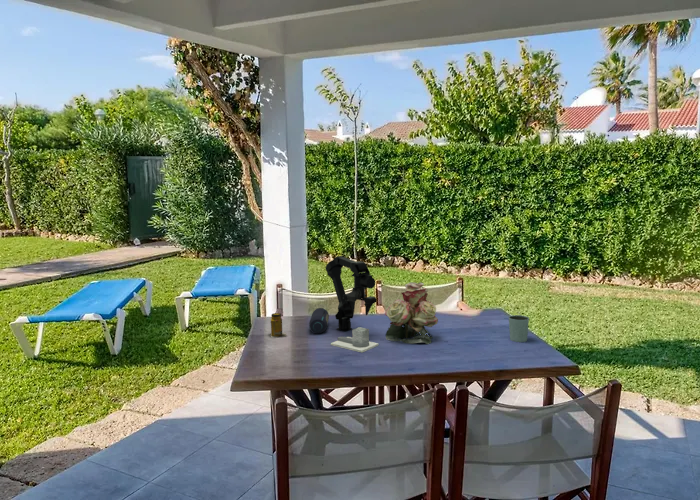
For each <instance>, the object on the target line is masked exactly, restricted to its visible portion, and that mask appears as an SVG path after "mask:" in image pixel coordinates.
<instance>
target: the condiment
mask: <svg viewBox="0 0 700 500" xmlns="http://www.w3.org/2000/svg"><path fill="white" fill-rule="evenodd" d="M282 318H283V317H282V314H281V313H279V312H275V313H272V314H271V319H270V331H271V333H270V334H269V335H270V337H271V338H281V337H282V338H283V337H288V335H287V333H286V332H283V319H282Z"/></svg>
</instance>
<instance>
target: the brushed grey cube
mask: <svg viewBox="0 0 700 500" xmlns="http://www.w3.org/2000/svg"><path fill="white" fill-rule="evenodd" d="M351 335H352V341H353V342H357V343H364V342H367V341H369V342H370V329H369V328H365V327H361V326H359V327H356V328H352V329H351Z"/></svg>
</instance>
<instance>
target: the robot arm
mask: <svg viewBox="0 0 700 500" xmlns="http://www.w3.org/2000/svg"><path fill="white" fill-rule="evenodd" d="M343 267H346V268H348V269H350V271H351V272H352V274H351V277H353V287H352V290H351V292H347V293H346V291H345V287H344V284H343V281H342V278H341V275H342V269H343ZM325 271H326V274H327V276H328V277H329V278H330V279H331V280H332V282H333V287H334V291H335V294H336V298H337V300H338V306H337V312H336V313H335V320H336V321H337V320H338V321H337V322H338V323H337V324H338V326H337V328H336V330H337V331H342V332H348V331H352V330H353V328H352V322H351V319H353V318H354V314H355V307H356V302H357V300H358V301H364V306H365V312H364V313H365V316H368V314H369V313H370V311H371V308H372V306H373V305H374V304H375V303H377V297H376V296H367V294H366V289H373V288H374V287H375V286H376V280H375V278H374V277H373V275H372V274H371V271H370V269H369V267H368V266H367V264H366V262H365V261H355V260H352V259H350V258H347V257H345V256H343V255H339V256H335V257H334V258H333V259H332V260H330V261H329V262H328V263H326V266H325Z"/></svg>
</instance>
